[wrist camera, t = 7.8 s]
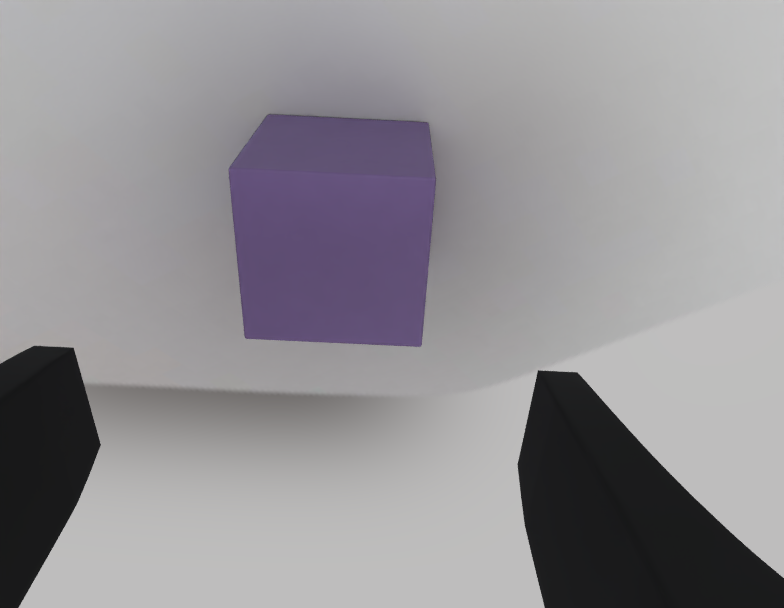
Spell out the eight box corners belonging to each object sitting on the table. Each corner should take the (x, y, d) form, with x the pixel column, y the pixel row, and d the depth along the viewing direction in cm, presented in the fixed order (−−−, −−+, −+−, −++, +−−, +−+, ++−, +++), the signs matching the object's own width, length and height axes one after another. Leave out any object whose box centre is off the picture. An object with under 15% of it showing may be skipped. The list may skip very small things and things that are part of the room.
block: (417, 264, 19) (421, 347, 15) (275, 257, 19) (244, 339, 15) (429, 121, 17) (436, 178, 13) (267, 113, 17) (227, 168, 13)
